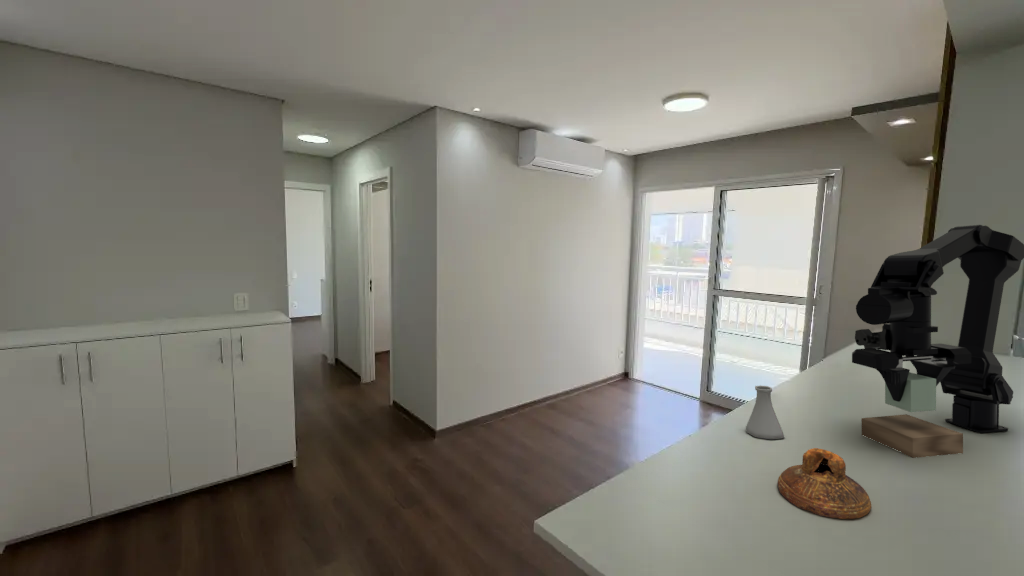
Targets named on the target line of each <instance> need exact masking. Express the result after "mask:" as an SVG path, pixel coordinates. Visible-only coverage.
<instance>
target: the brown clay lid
mask: <svg viewBox="0 0 1024 576" xmlns="http://www.w3.org/2000/svg"><path fill="white" fill-rule="evenodd" d="M846 467H847V465H846V462H845V461H844V459H843V458H842V457H841V456H840V455H838V454H836V453H835V452H832V451H829V450H827V449H823V448H817V447H813V448H810V449H808V450H806V451H805V452H803V455H802V463H801V464H795V465H791V466H789V467H788V468H786V469H784V470H783V471H782V472H781V473H780V475H779V476H778V479H777V487H778V491H779V493H780V494H781V495H782V496H783V498H785V499H786V501H788V502H790V503H791V504H793V505H795V506H796V508H799V509H801V510H803V511H809V512H811V513H813V514H815V515H818V516H820V517H821V516H822V517H827V518H832V519H839V520H854V519H859V518H863V517H864V516H866V515H868V513H870V511H871V509H872V502H871V499H870V496H869V494H868V492H867V491H866V489H865V488H864V487H863V486H862V485H861V484H860V483H858V482H857V481H856V480H854V479H853V478H852V477H850V476H849V475H847V473H846V471H847V470H846V469H847V468H846Z"/></svg>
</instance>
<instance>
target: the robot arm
mask: <svg viewBox="0 0 1024 576" xmlns="http://www.w3.org/2000/svg"><path fill="white" fill-rule="evenodd" d="M957 259H958V260H960V264H959V267H960V269H961V270H962V271H963V273H964V274H965V276H966V277H967V278H968V285H967V289H966V291H967V292H966V296H965V303H964V308H963V314H962V319H961V320H962V321H961V326H960V332H959V338H958V344H957V346H956V345H952V344H945V343H932V333H938V332H939V326H936V325H932V296H936V295H937V294H938V291H937V290H936V289H935V288H934V287H932V286H933V284H934V283H935V282H936V281H938V280H939V279H940V278H941V277H942V276H943V275H944V269H943V268H944V267H945V266H947V265H948V264H949V263H952V262H953V261H954V260H957ZM1023 260H1024V243H1023V242H1021V241H1020V240H1019V239H1018V238H1017V237H1016V236H1014V235H1011V234H1007V233H1005V232H1000V231H997V230H993V229H992V228H990V227H989V226H988V225H983V224H971V225H961V226H960V225H958V226H955V227H952V228H950V229H949V230H948V231H947V232H946V233H944V234H942V235H941V236H939V237H937V238H936V239H934V240H932V241H931V242H927V244H925V245H923V246H921V247H919V248H918V249H914V250H908V251H901V252H898V253H897V252H896V253H895V254H891V255H888V256H887V257H886V258H885V259H884V260H883V262H882V264H881V265H880V267H879V270H878V272H877V274H876V275H875V278H874V279H873V282H872V283H871V286H870V287H868V288H867V294H866V295H863V296H862V297H861V298H860V299H858V301H857V304H856V305H855V311H856V314H857V316H858V317H859V319H860V320H862V321H863V322H864V323H866V324H868V325H873V326H876V325H877V326H878V325H882V327H881V328H882V329H881V331H875V332H874V331H873V332H872V330H870V329H869V328H864V329H863V328H861V329H857V330H855V333H854V334H855V335H854V340H855V344H856V345H857V346H863V347H864V348H856V349H854V351H852V352H851V363H852V364H856V365H860V366H864V367H866V368H869V369H870V368H871V369H873V370H874V369H875V370H876V371H877V372H879V374H880V376H881V377H882V379H883V381H884V384H885V383H886V385H887V387H888V390H889V392H890V394H891V396H892V398H893V400H894V401H897V402H900V401H901V398H902V396H903V393H904V389H905V386H906V382H907V379H908V375H909V372H910V369H909V368H905V367H903V362H910V363H911V364H912V365H913V367H914V368H915V370H916V374H919V375H923V376H927V377H930V378H934V379H936V387H937V386H938V385H939V384H940V385H941V391H942V393H943V394H946V395H947V394H948V395H953V401H952V402H953V403H952V405H951V408H952V410H951V412H952V413H951V416H952V417H951V418H945V419H944V421H945V422H947V423H949V424H953V425H955V426H958V427H961V428H965V429H967V430H970V431H972V432H976V433H980V434H983V433H997V432H1006V431H1009V427H1005V426H1003V425H1000V405H1011V402H1012V400H1013V398H1014V390H1013V389H1012V387H1011V386H1010V384H1009V383H1008V382H1007V380H1006V379H1005V378H1004V375H1003V365H1002V364H1001V362H1000V361H999V360H998V358H997V356H996V355H995V354H994V345H995V340H996V333H997V328H998V327H997V326H998V323H999V315H1000V309H1001V304H1002V300H1003V299H1002V298H1003V292H1004V291H1003V290H1004V287H1005V283H1006V282H1007V281H1008V280H1009V279H1010V278H1011V277H1012V276H1014V275H1016V273H1017V272H1018V271H1019V270H1020V266H1021V263H1022V261H1023Z"/></svg>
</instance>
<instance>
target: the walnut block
mask: <svg viewBox="0 0 1024 576" xmlns="http://www.w3.org/2000/svg"><path fill="white" fill-rule="evenodd" d="M862 435H864V436H866V437H868V438H867V439H869V438H871V439H873V440H875V441H877V442H876V443H878V442H880V443H882V444H884V445H883V446H885V445H887V446H889V447H891V448H894V449H896V450H898V451H901V452H902V453H901V454H903V453H904V454H903V455H905V454H906V455H905V456H907V455H908V457H909V456H910V457H909V458H913V459H916V457H917V458H918V459H919V458H927V457H926V456H929V457H936V456H937V455H939V456H949V455H948V454H950V455H957V454H958V453H961V454H963V453H964V433H963V432H959V431H957V430H955V429H954V430H953V429H951V428H947V427H945V426H941V425H939V424H936V423H934V422H930V421H928V420H924V419H921V418H918V417H916V416H913V415H910V414H906V413H904V414H898V415H897V414H896V415H895V414H894V415H883V416H882V415H881V416H871V417H861V436H862ZM864 436H863V437H864ZM866 437H865V438H866ZM871 439H870V440H871ZM873 440H872V441H873ZM875 441H874V442H875ZM880 443H879V444H880ZM882 444H881V445H882ZM887 446H886V447H887ZM889 447H888V448H889ZM891 448H890V449H891ZM894 449H893V450H894ZM896 450H895V451H896ZM898 451H897V452H898ZM958 455H959V454H958Z"/></svg>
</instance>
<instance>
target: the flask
mask: <svg viewBox="0 0 1024 576" xmlns="http://www.w3.org/2000/svg"><path fill="white" fill-rule="evenodd" d="M754 388H755V389H754V390H755V391H756V399H755V403H754V405H753V408H752V411H751V414H750V416H749V418H748V421H747V423H746V425H745V433H747V434H749V435H751V436H752V437H754V438H759V439H767V440H777V439H785V435H784V432H783V429H782V427H781V423H780V421H779V418H778V417H777V414H776V412H775V409H774V406H773V402H772V397H771V395H772V392H773V387H771V386H768V385H761V384H760V385H755V386H754Z"/></svg>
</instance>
